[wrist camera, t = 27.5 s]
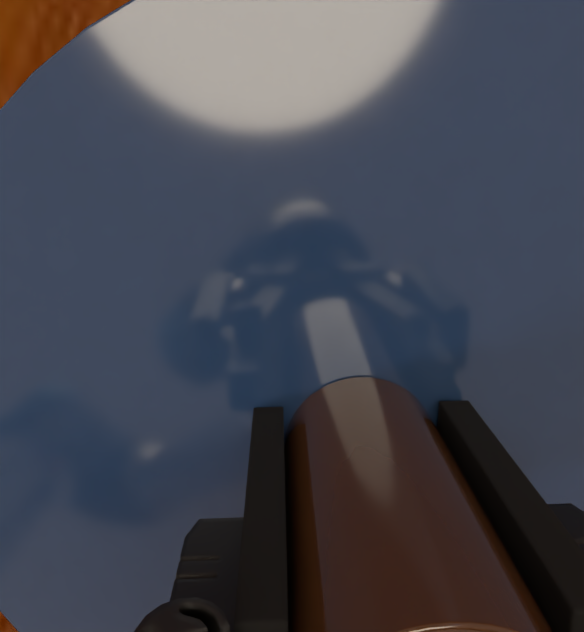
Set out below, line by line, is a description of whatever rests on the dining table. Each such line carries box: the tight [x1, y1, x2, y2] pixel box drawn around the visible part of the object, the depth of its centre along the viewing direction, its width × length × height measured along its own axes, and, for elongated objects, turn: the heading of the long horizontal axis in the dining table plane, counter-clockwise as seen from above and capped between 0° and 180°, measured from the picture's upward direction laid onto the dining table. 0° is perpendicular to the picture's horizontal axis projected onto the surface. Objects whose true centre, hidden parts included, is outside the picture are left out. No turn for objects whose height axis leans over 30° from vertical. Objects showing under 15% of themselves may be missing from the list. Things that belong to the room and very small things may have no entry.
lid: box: [0, 0, 584, 632], centre depth 11 cm, size 23×23×9 cm
